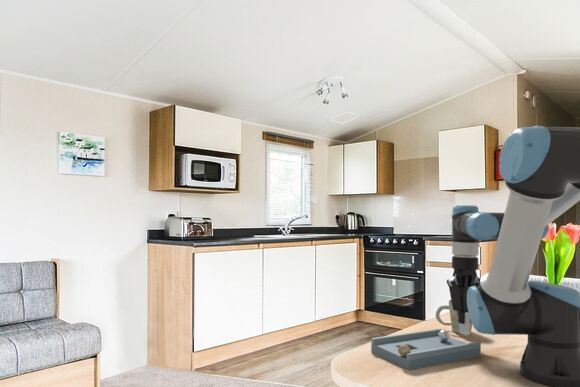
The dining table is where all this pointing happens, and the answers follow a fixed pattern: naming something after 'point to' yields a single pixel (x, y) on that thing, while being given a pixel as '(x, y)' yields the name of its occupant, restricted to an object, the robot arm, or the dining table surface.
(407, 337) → the plate
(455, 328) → the mug
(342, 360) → the dining table surface
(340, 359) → the dining table surface
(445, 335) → the steel ball
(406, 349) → the cork ball
